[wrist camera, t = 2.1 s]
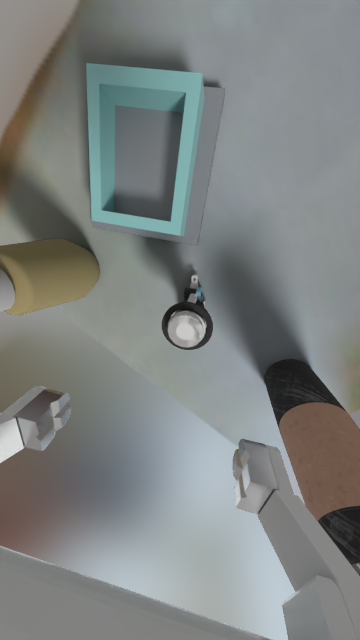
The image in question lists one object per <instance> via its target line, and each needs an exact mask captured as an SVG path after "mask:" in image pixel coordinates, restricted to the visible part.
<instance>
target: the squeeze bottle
mask: <svg viewBox="0 0 360 640" xmlns="http://www.w3.org/2000/svg"><path fill="white" fill-rule="evenodd" d="M99 275H100V269H99V264H98V262H97V260H96V258H95V256H94V255H93V254H92V253H91V252H90V251H88V250H86V249H84V248H82V247H80V246H78V245H76V244H74V243H72V242H70V241H67V240H65V239H47V240H40V241H33V242H25V243H18V244H10V245H3V246H0V312H2V311H5V312H7V313H9V314H14V315H23V314H27V313H30V312H34V311H37V310H41V309H45V308H48V307H52V306H56V305H59V304H63V303H67V302H70V301H74V300H77V299H80V298H83V297H85V296H86V295H87V293H88V292H89V291H90V290H91V289H92V287H93V286H94V285H95V283H96V282H97V281H98V278H99Z"/></svg>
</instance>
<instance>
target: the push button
mask: <svg viewBox="0 0 360 640" xmlns="http://www.w3.org/2000/svg"><path fill="white" fill-rule="evenodd" d="M194 278H195V279H196V280H194ZM175 311H176V312H175ZM174 312H175V314H174V315H173V316H172V317H171V315H172V314H173V313H174ZM170 317H171V318H170ZM204 319H205V320H204ZM205 321H206V324H207V328H206V329H205ZM162 330H163V333H164V336H165V337H166V339H167V340H168V341H169V342H170V343H171V344H172V345H174V346H176V347H178V348H181V349H185V350H193V349H197V348H200V347H202V346H203V345H205V344H206V343H207V342H208V341H209V339H210V337H211V335H212V331H213V323H212V319H211V317H210V315H209V313H208V312H207V310H206V309H205V301H204V302H203V301H201V287H199V283H198V275H192V277H191V284H190V286H189V288H186V289H185V292H184V300H183V302H180V303H178V304H175V305H173V306H172V307H170V308H169V309H168V310H167V312H166V313H165V315H164V317H163V320H162Z"/></svg>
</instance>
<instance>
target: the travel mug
mask: <svg viewBox="0 0 360 640" xmlns="http://www.w3.org/2000/svg"><path fill="white" fill-rule="evenodd" d="M265 384H266V388H267V391H268V394H269V398H270V401H271V404H272V408H273V411H274V414H275V417H276V421H277V424H278V427H279V430H280V434H281V437H282V439H283V442H284V445H285V448H286V451H287V454H288V456H289V459H290V462H291V465H292V468H293V471H294V474H295V476H296V479H297V482H298V485H299V488H300V490H301V494H302V496H303V499H304V502H305V505H306V507H307V508H308V510H309V511H310V512H311V514H312V515H313V516H314V517H315V519H316V520H317V521H318V523H319V524H320V525H321V527H322V528H323V529H324V530H325V532H326V533H327V534H328V536H329V537H330V538H331V540H332V541H333V542H334V543H335V545H336V546H337V547H338V549H339V550H340V551H341V553H342V554H343V555H344V556H345V558H346V559H347V560H348V562H349V563H350V564H351V566H352V567H353V568H354V569H355V571H356V572H357V573H358V575H359V576H360V429H359V427H358V426H357V425H356V423H355V422H354V421H353V419H352V418H351V417H350V415H349V414H348V413H347V412H346V410H345V409H344V408H343V407H342V406H341V404H340V403H339V402H338V401H337V399H336V398H335V397H334V396H333V395H332V393H331V392H330V391H329V390H328V388H327V387H326V386H325V385H324V384H323V382H322V381H321V380H320V379H319V377H318V376H317V375H316V374H315V373H314V371H313V370H312V369H311V368H310V367H309V366H308V365H307V364H305V363H303V362H301V361H298V360H283V361H279V362H277V363H275V364H273V365H272V366H271V367H270V368H269V369H268V370H267V372H266V374H265Z"/></svg>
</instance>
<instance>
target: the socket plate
mask: <svg viewBox="0 0 360 640" xmlns="http://www.w3.org/2000/svg"><path fill="white" fill-rule="evenodd" d="M86 76H87V104H88V133H89V161H90V190H91V218H92V224H93V227H94V228H100V229H106V230H111V231H117V232H123V233H128V234H134V235H140V236H145V237H151V238H157V239H163V240H168V241H174V242H180V243H185V244H191V245H198V240H199V235H200V229H201V224H202V218H203V213H204V207H205V202H206V196H207V191H208V185H209V180H210V174H211V169H212V163H213V158H214V152H215V147H216V141H217V136H218V130H219V124H220V119H221V113H222V108H223V102H224V96H225V88H216V87H205V86H204V84H203V73H193V72H182V71H171V70H159V69H148V68H137V67H126V66H115V65H104V64H93V63H86Z"/></svg>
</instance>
